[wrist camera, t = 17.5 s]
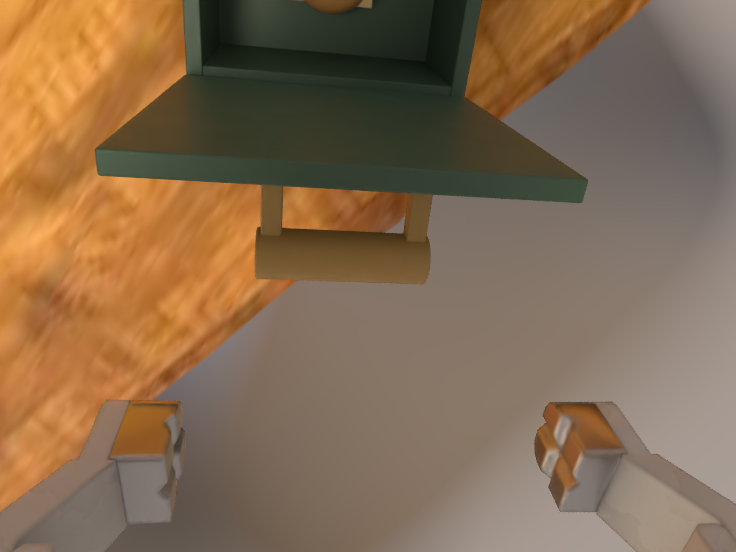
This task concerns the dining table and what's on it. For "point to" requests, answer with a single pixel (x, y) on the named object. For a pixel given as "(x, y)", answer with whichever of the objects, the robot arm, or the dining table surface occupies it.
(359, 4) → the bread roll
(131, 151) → the lid
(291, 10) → the bread bin
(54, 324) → the dining table surface
